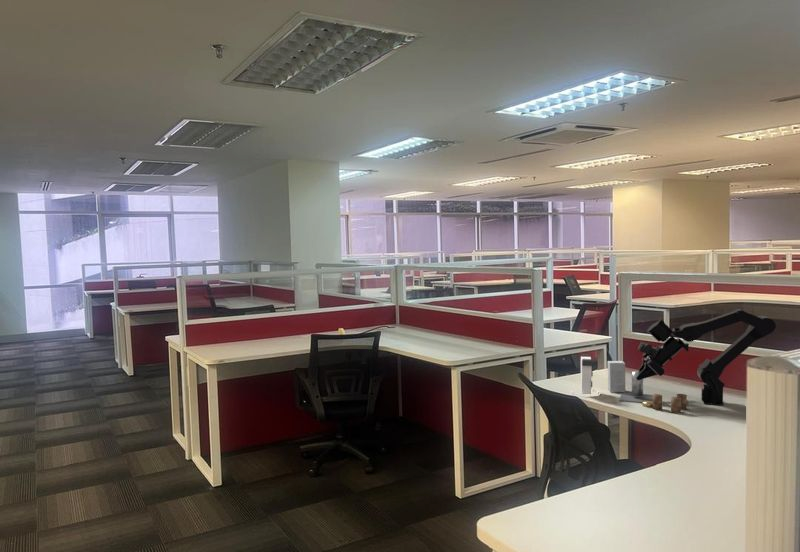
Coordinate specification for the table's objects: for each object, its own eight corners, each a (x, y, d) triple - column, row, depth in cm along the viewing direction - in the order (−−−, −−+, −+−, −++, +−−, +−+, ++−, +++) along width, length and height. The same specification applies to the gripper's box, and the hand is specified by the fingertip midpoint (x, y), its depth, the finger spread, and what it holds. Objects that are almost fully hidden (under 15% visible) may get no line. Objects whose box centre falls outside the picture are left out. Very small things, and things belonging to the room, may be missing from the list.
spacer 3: (686, 407, 208) (686, 394, 208) (686, 410, 205) (686, 396, 205) (676, 407, 209) (676, 393, 209) (676, 409, 206) (676, 395, 206)
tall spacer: (644, 394, 222) (644, 371, 221) (641, 396, 219) (641, 373, 218) (633, 393, 224) (633, 370, 224) (630, 395, 221) (630, 372, 220)
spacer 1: (662, 408, 209) (662, 394, 208) (662, 410, 206) (662, 396, 205) (652, 407, 210) (652, 393, 210) (652, 409, 207) (652, 395, 207)
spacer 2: (680, 411, 204) (680, 397, 204) (681, 413, 201) (681, 399, 201) (670, 410, 206) (670, 396, 205) (671, 412, 203) (671, 398, 202)
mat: (654, 395, 225) (654, 394, 225) (654, 404, 214) (654, 403, 214) (621, 393, 229) (621, 392, 229) (619, 401, 218) (619, 400, 218)
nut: (654, 405, 213) (654, 401, 213) (654, 408, 209) (654, 404, 209) (642, 404, 214) (642, 400, 214) (642, 407, 211) (642, 403, 211)
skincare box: (622, 389, 235) (622, 360, 234) (625, 392, 230) (625, 362, 230) (607, 389, 235) (607, 360, 235) (610, 392, 231) (610, 362, 230)
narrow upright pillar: (602, 398, 223) (602, 360, 222) (571, 397, 226) (571, 359, 225) (599, 390, 234) (599, 354, 233) (570, 389, 237) (570, 353, 236)
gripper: (648, 331, 227) (618, 358, 231) (654, 339, 210) (622, 368, 213) (669, 351, 226) (639, 378, 229) (678, 361, 208) (645, 390, 212)
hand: (636, 378), depth 221 cm, fingers closed on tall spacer, 4 cm apart
